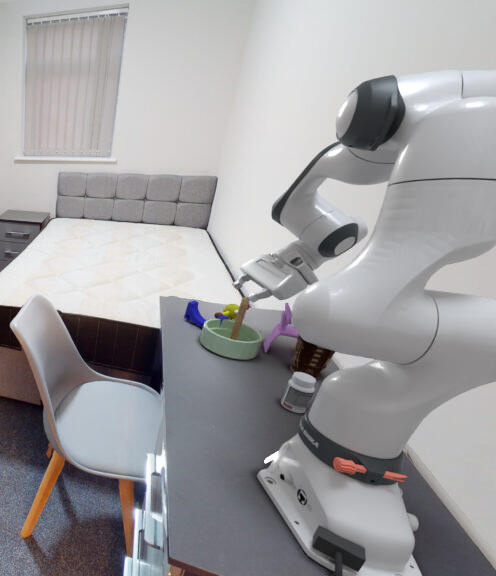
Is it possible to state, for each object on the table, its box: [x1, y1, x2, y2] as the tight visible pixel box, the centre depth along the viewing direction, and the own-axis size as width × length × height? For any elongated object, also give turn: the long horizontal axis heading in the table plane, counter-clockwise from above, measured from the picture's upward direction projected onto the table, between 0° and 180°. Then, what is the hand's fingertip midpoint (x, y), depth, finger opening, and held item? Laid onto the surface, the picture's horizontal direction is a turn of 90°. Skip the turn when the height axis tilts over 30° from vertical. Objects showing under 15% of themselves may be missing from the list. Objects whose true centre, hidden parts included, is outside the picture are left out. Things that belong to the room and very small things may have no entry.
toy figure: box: [213, 303, 250, 321], centre depth 124 cm, size 18×6×7 cm, turn 119°
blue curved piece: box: [183, 300, 228, 329], centre depth 121 cm, size 12×4×6 cm, turn 25°
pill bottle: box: [280, 372, 317, 414], centre depth 85 cm, size 5×5×8 cm
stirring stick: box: [229, 296, 251, 340], centre depth 107 cm, size 4×4×16 cm
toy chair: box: [263, 302, 298, 353], centre depth 106 cm, size 8×9×15 cm
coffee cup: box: [289, 332, 336, 380], centre depth 97 cm, size 9×8×13 cm
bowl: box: [199, 318, 264, 360], centre depth 109 cm, size 15×15×6 cm
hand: (241, 293), depth 104 cm, fingers open, 8 cm apart
